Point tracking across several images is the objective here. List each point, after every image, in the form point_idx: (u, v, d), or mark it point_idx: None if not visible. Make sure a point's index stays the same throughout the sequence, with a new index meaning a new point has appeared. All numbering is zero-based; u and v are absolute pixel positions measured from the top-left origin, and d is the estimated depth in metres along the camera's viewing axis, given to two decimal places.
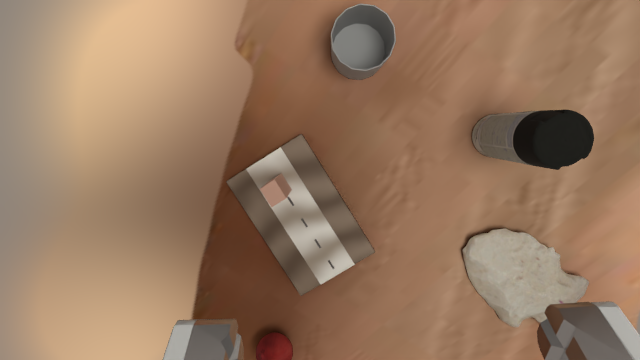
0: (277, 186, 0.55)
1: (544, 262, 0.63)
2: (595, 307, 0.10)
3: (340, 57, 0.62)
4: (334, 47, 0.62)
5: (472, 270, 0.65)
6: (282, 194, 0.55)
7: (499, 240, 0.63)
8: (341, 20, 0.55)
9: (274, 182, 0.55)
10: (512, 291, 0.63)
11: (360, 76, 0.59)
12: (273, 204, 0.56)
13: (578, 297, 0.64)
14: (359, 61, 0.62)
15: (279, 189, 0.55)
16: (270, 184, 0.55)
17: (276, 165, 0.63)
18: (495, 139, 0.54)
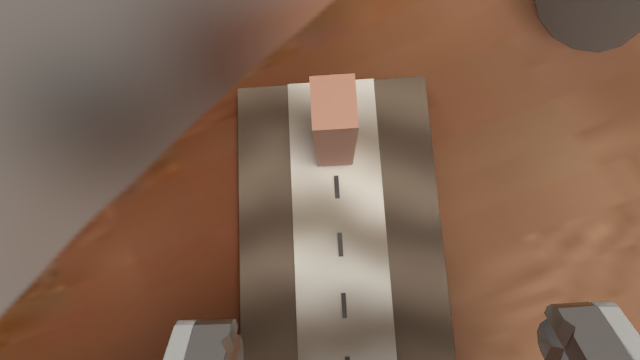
0: (353, 91, 0.21)
1: None
2: (595, 307, 0.10)
3: None
4: None
5: None
6: (354, 114, 0.21)
7: None
8: None
9: (351, 79, 0.21)
10: None
11: (602, 17, 0.28)
12: (320, 126, 0.21)
13: None
14: None
15: (353, 100, 0.21)
16: (339, 79, 0.21)
17: None
18: None
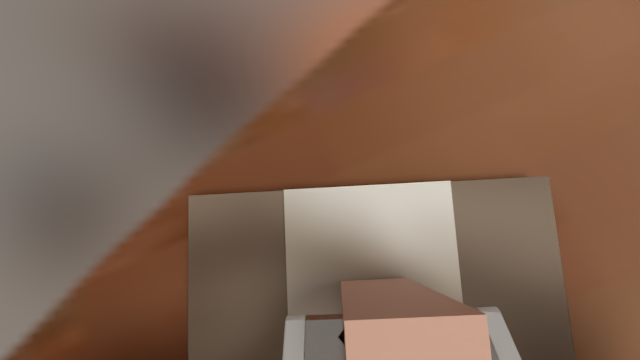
0: None
1: None
2: None
3: None
4: None
5: None
6: None
7: None
8: None
9: (476, 335, 0.07)
10: None
11: None
12: None
13: None
14: None
15: None
16: (438, 332, 0.07)
17: (399, 236, 0.15)
18: None
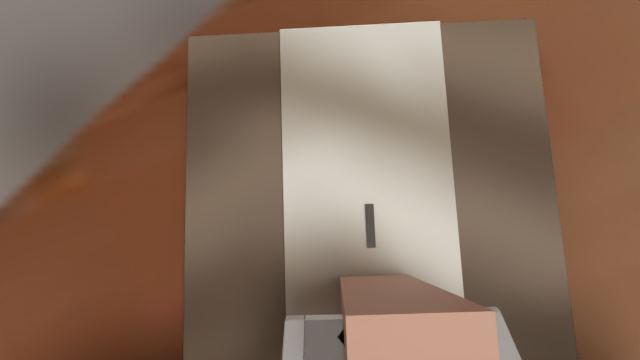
0: None
1: None
2: None
3: None
4: None
5: None
6: None
7: None
8: None
9: (483, 332, 0.07)
10: None
11: None
12: None
13: None
14: None
15: None
16: (444, 329, 0.07)
17: (390, 70, 0.16)
18: None
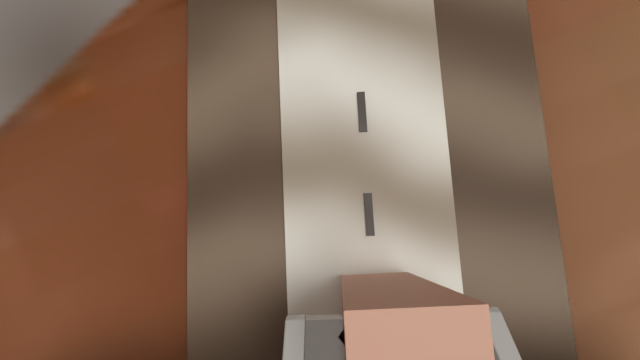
0: None
1: None
2: None
3: None
4: None
5: None
6: None
7: None
8: None
9: (477, 324, 0.07)
10: None
11: None
12: None
13: None
14: None
15: None
16: (439, 322, 0.07)
17: None
18: None
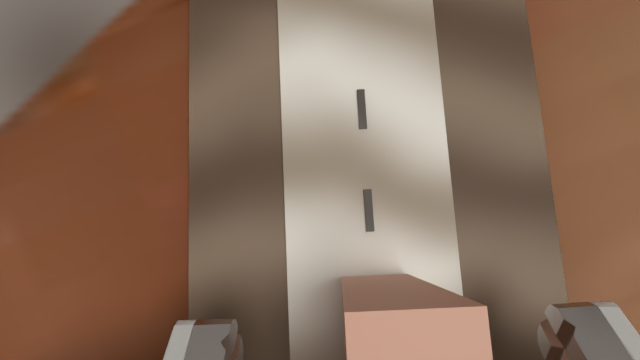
0: None
1: None
2: (595, 307, 0.10)
3: None
4: None
5: None
6: None
7: None
8: None
9: (476, 326, 0.07)
10: None
11: None
12: None
13: None
14: None
15: None
16: (438, 324, 0.07)
17: None
18: None
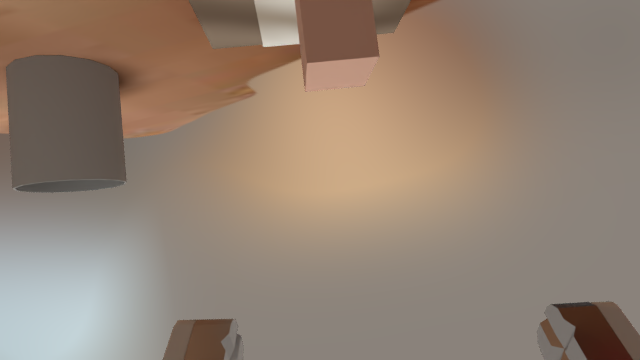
0: (309, 82, 0.15)
1: None
2: (595, 307, 0.10)
3: None
4: None
5: None
6: (311, 69, 0.14)
7: None
8: None
9: (310, 88, 0.16)
10: None
11: (70, 104, 0.32)
12: (365, 59, 0.14)
13: None
14: None
15: (310, 78, 0.15)
16: (326, 87, 0.16)
17: (290, 32, 0.29)
18: None
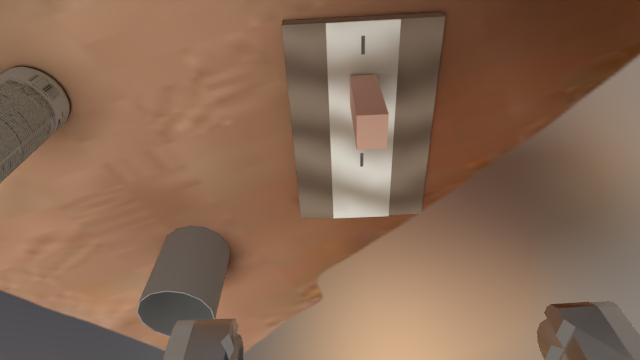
0: (358, 138, 0.32)
1: None
2: (595, 307, 0.10)
3: None
4: None
5: None
6: (358, 123, 0.31)
7: None
8: (197, 314, 0.49)
9: (359, 146, 0.32)
10: None
11: (200, 252, 0.48)
12: (382, 116, 0.31)
13: None
14: None
15: (358, 133, 0.31)
16: (366, 146, 0.32)
17: (351, 204, 0.46)
18: (14, 162, 0.33)
